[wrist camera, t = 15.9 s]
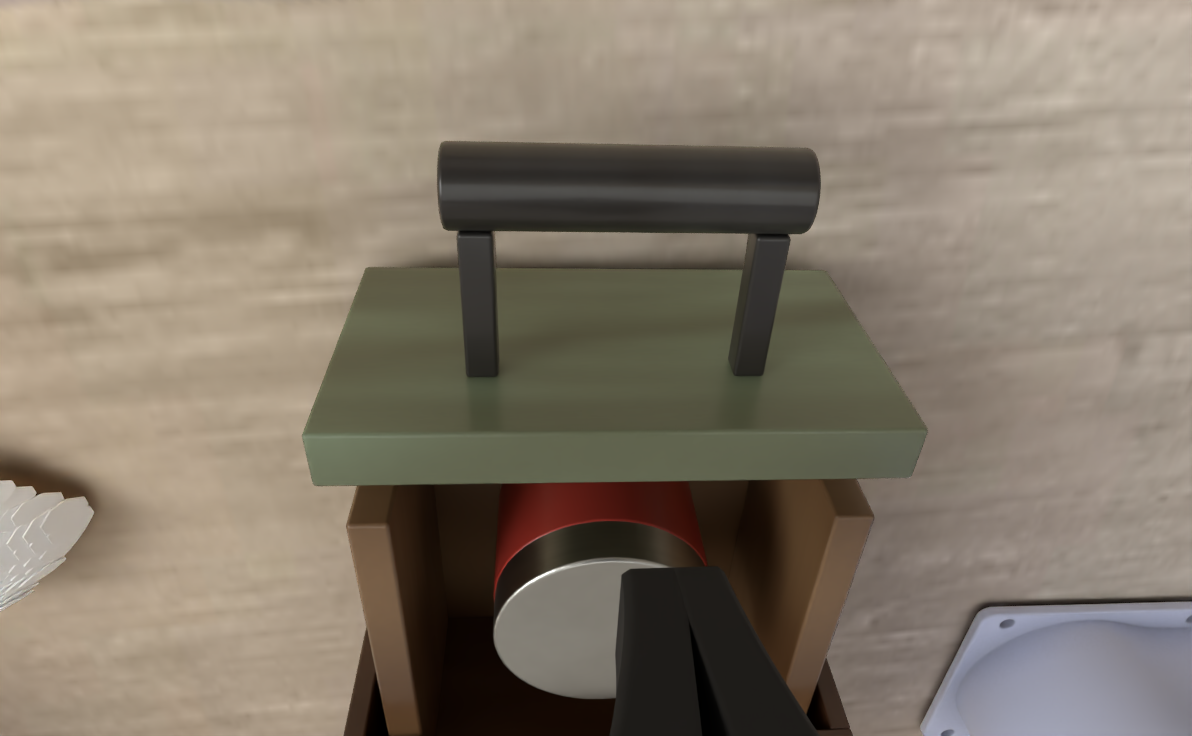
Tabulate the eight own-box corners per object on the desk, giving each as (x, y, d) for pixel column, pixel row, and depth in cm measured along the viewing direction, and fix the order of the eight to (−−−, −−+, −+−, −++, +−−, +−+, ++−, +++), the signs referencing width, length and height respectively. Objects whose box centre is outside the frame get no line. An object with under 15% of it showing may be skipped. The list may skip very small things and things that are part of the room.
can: (693, 401, 19) (735, 556, 15) (673, 536, 22) (705, 698, 18) (497, 402, 19) (486, 561, 15) (502, 539, 22) (494, 705, 18)
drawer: (336, 70, 15) (242, 187, 10) (870, 83, 16) (1016, 199, 11) (414, 608, 25) (384, 803, 20) (748, 600, 26) (798, 785, 21)
